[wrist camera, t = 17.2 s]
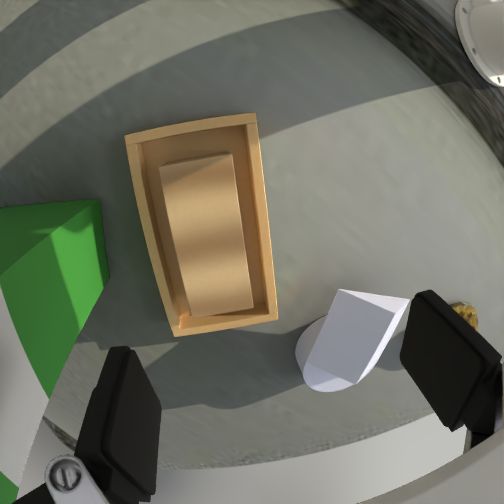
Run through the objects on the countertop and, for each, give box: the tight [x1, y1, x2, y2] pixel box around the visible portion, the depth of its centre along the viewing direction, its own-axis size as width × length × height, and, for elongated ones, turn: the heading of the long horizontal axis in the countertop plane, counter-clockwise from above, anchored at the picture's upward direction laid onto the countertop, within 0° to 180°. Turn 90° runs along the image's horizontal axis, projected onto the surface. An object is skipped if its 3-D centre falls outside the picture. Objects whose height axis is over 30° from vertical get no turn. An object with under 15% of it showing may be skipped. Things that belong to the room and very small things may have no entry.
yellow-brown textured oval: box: [450, 302, 478, 332], centre depth 34 cm, size 9×5×15 cm
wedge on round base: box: [295, 289, 410, 392], centre depth 29 cm, size 9×7×13 cm
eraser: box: [159, 152, 254, 318], centre depth 23 cm, size 12×5×4 cm, turn 7°
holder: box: [124, 112, 278, 337], centre depth 24 cm, size 18×10×3 cm, turn 7°
